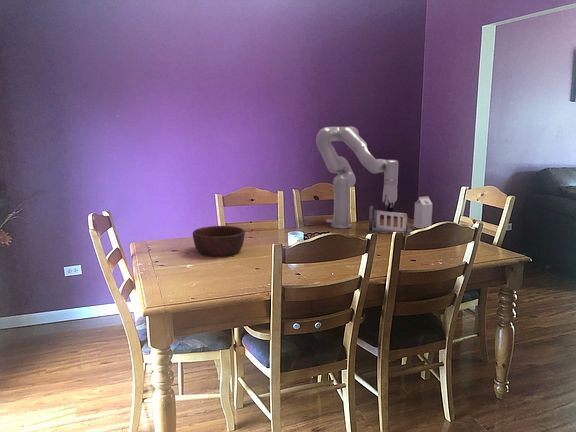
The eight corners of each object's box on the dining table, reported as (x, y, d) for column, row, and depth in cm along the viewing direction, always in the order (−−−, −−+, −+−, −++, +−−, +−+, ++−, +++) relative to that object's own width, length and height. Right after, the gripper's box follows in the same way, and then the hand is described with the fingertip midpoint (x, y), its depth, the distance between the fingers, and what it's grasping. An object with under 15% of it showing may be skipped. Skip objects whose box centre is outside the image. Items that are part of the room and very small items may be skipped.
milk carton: (413, 228, 297) (415, 196, 293) (423, 227, 300) (424, 195, 296) (421, 230, 291) (423, 198, 287) (431, 229, 294) (433, 197, 290)
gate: (372, 227, 288) (373, 209, 286) (374, 227, 290) (374, 209, 288) (405, 231, 278) (405, 213, 276) (406, 231, 280) (407, 212, 278)
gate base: (367, 232, 285) (368, 207, 283) (368, 229, 294) (369, 205, 291) (412, 234, 281) (414, 209, 278) (412, 231, 289) (413, 206, 286)
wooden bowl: (236, 260, 231) (235, 238, 229) (185, 257, 236) (184, 235, 234) (251, 246, 255) (250, 226, 253) (204, 244, 260) (203, 224, 258)
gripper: (390, 180, 290) (389, 211, 293) (378, 183, 278) (377, 215, 281) (402, 181, 285) (401, 213, 289) (391, 184, 273) (390, 217, 277)
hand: (389, 214), depth 285 cm, fingers closed
